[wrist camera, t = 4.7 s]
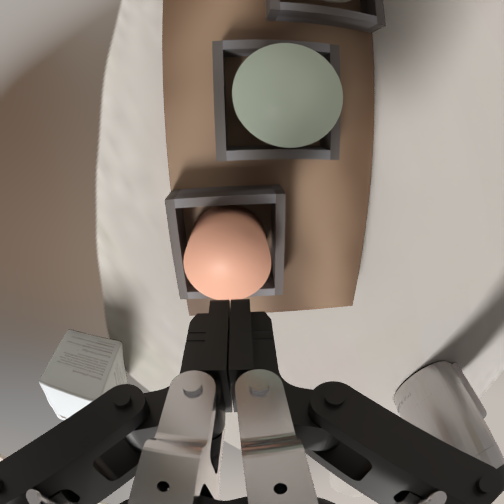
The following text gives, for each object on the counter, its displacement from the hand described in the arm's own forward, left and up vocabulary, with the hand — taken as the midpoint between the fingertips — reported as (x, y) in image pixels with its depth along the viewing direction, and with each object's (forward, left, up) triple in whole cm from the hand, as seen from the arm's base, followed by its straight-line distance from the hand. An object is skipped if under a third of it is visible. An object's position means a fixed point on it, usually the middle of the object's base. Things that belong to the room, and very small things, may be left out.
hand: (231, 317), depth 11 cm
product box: (+14, +13, -10) cm, 22 cm away
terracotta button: (0, 0, -7) cm, 7 cm away
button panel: (-3, -8, -10) cm, 13 cm away
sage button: (-3, -8, -6) cm, 10 cm away
